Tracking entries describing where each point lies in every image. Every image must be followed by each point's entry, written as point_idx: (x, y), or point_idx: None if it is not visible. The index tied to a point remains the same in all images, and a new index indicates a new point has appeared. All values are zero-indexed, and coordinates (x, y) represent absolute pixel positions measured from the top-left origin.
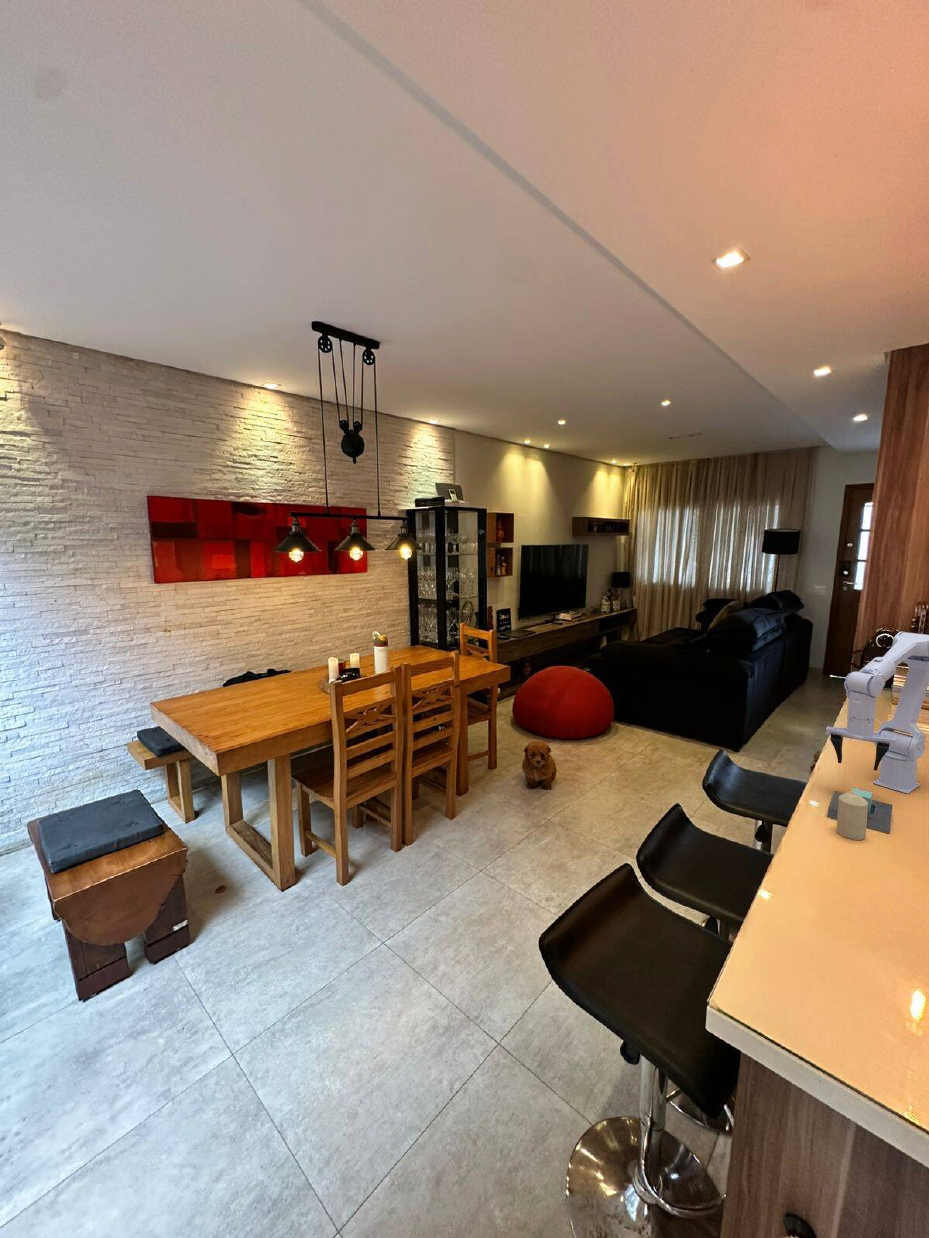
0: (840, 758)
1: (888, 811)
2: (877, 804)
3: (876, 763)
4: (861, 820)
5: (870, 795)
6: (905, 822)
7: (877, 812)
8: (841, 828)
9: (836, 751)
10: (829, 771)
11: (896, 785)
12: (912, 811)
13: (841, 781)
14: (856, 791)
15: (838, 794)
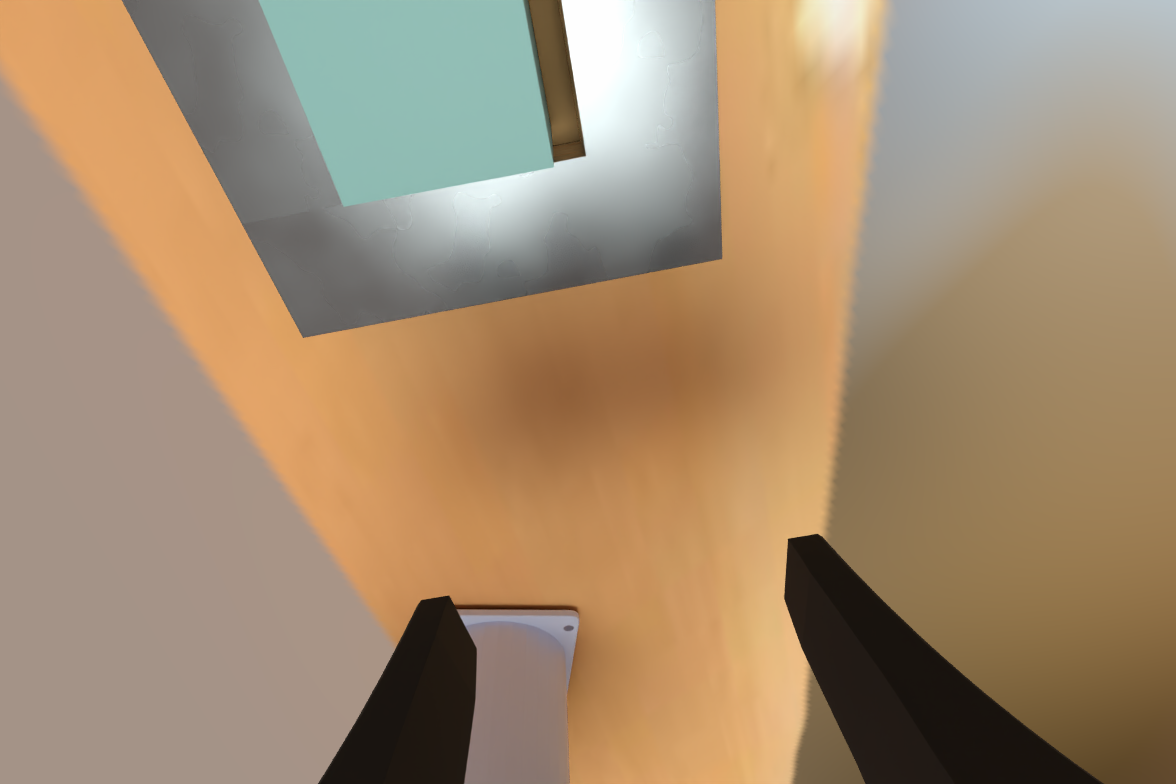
0: (828, 590)
1: (230, 148)
2: (370, 244)
3: (395, 692)
4: None
5: (304, 77)
6: (198, 222)
7: (259, 6)
8: None
9: (956, 680)
10: (780, 601)
11: (472, 638)
12: (290, 437)
13: (709, 537)
14: (477, 72)
15: (679, 199)
